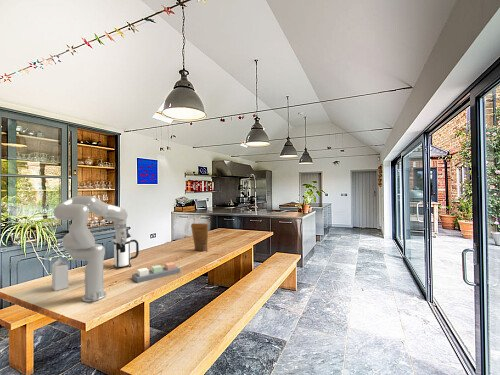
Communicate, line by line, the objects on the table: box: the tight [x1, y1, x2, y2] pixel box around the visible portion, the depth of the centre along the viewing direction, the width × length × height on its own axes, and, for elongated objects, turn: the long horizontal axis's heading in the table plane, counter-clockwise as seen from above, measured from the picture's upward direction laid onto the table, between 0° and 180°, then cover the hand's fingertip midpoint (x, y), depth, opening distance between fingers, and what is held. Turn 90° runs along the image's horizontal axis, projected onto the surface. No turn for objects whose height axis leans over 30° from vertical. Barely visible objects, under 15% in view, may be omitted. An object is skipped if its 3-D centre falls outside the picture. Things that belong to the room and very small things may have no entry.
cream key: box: [136, 267, 150, 277], centre depth 182 cm, size 6×6×5 cm
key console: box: [131, 265, 181, 284], centre depth 189 cm, size 12×31×3 cm, turn 131°
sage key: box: [150, 264, 163, 273], centre depth 189 cm, size 6×6×5 cm
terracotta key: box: [163, 261, 176, 270], centre depth 196 cm, size 6×6×5 cm
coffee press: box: [111, 232, 140, 270], centre depth 211 cm, size 17×16×30 cm
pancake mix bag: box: [190, 222, 209, 252], centre depth 259 cm, size 7×19×28 cm, turn 65°
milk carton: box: [51, 257, 69, 292], centre depth 167 cm, size 7×7×19 cm
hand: (120, 250), depth 181 cm, fingers open, 9 cm apart
